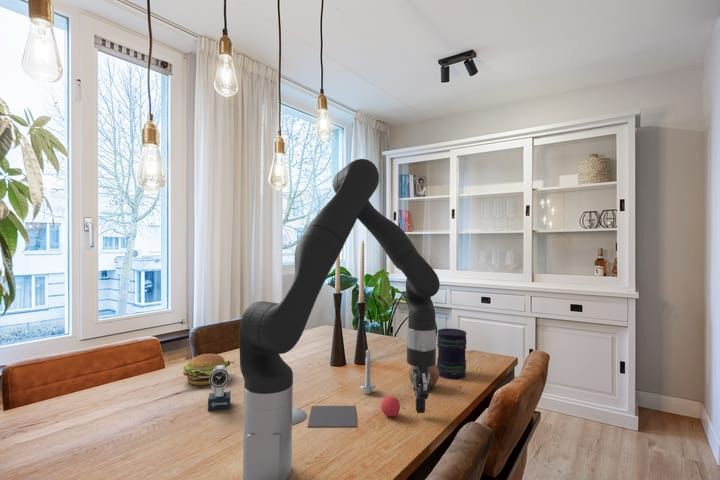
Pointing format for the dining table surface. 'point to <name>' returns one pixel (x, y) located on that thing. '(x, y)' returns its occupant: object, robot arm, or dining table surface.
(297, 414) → the disc
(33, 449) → the dining table surface
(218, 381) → the watch
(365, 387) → the screw
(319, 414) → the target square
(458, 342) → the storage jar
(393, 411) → the ball
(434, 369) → the onion
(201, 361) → the food
